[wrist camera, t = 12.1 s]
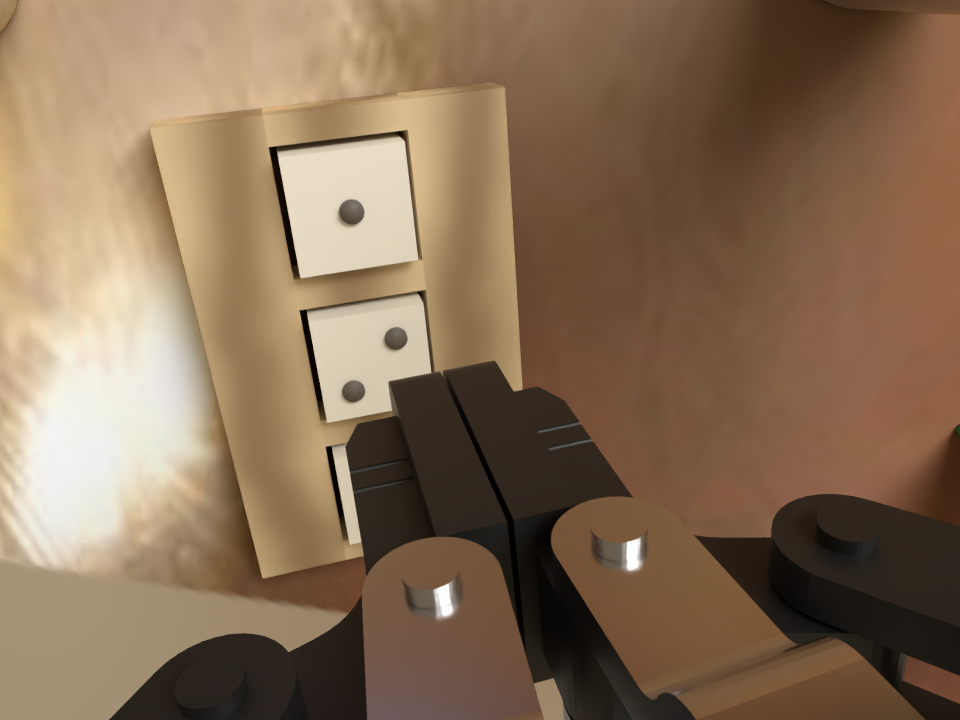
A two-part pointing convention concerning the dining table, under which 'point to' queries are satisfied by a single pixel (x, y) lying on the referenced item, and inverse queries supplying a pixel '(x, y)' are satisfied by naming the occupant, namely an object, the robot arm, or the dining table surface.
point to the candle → (6, 11)
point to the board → (333, 283)
